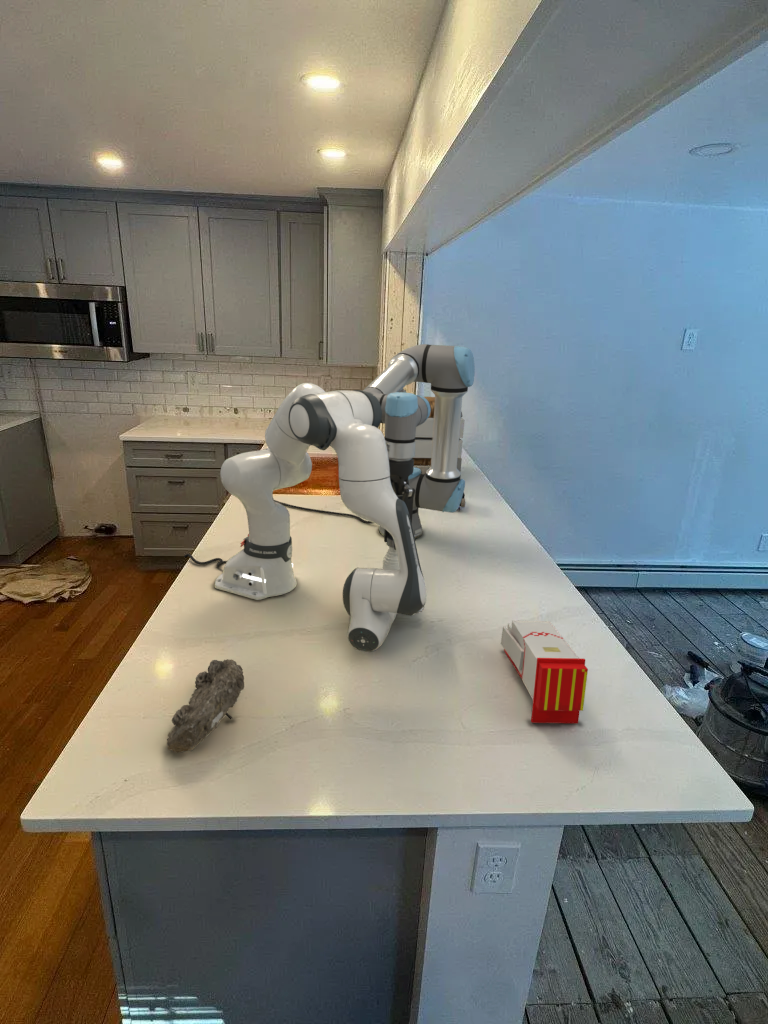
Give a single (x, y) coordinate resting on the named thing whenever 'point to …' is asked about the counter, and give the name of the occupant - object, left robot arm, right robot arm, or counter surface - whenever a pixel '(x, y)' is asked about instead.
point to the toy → (547, 670)
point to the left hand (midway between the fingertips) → (392, 582)
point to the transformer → (425, 439)
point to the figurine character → (462, 502)
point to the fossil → (206, 705)
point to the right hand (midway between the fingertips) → (394, 544)
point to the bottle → (391, 560)
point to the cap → (390, 541)
